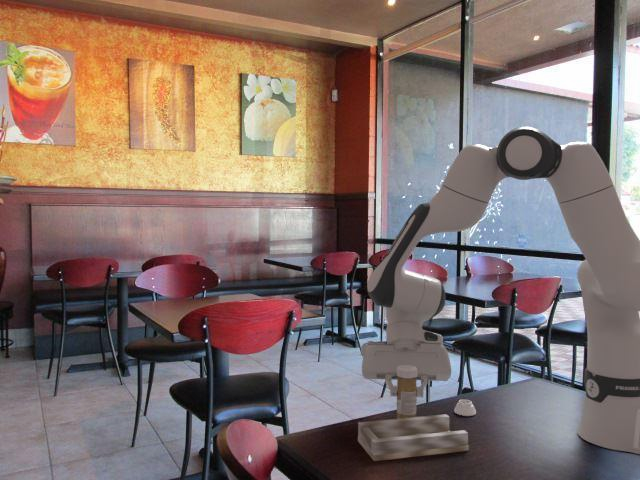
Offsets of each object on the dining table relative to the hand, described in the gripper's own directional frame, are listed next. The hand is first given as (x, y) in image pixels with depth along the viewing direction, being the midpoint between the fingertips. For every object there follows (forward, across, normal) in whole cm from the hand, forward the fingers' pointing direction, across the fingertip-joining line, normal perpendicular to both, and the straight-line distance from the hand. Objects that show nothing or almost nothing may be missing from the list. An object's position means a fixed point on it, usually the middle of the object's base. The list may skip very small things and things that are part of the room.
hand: (406, 395), depth 124 cm
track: (+12, +1, -2) cm, 12 cm away
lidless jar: (-2, +14, +13) cm, 20 cm away
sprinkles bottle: (+5, 0, +6) cm, 7 cm away
